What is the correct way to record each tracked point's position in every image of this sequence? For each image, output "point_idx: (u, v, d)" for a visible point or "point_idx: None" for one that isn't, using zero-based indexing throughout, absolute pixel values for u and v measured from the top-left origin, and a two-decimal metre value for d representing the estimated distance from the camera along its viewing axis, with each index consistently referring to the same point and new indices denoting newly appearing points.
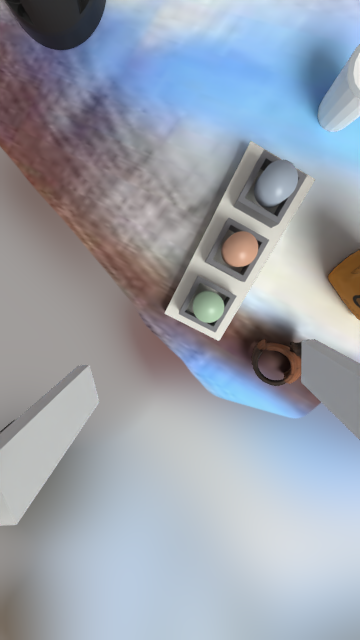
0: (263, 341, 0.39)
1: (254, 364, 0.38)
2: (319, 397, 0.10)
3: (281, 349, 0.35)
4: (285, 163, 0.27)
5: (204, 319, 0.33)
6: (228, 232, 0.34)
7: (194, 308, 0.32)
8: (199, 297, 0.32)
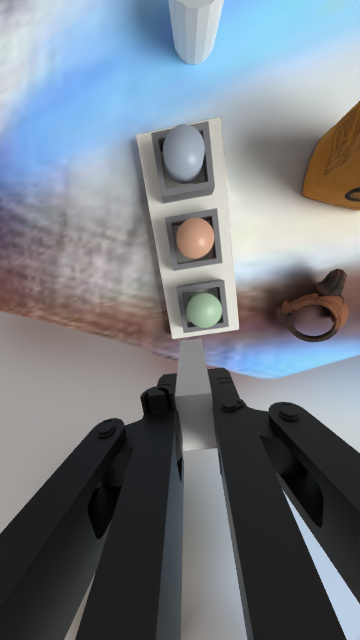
0: (285, 303, 0.34)
1: (292, 331, 0.33)
2: None
3: (308, 301, 0.30)
4: (177, 129, 0.23)
5: (208, 324, 0.29)
6: (176, 229, 0.31)
7: (192, 320, 0.29)
8: (189, 308, 0.29)
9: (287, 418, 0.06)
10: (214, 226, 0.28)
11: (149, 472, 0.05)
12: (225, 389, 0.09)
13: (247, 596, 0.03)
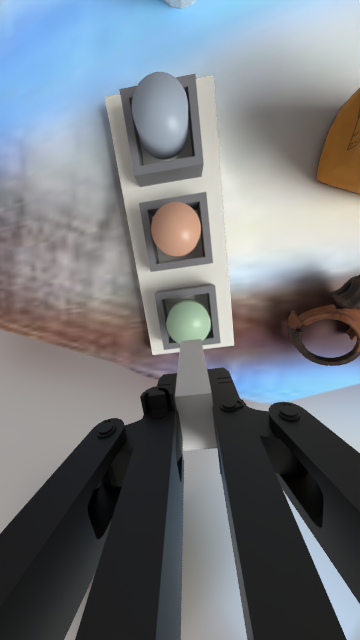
0: (293, 315, 0.28)
1: (301, 351, 0.27)
2: None
3: (324, 315, 0.24)
4: (151, 79, 0.17)
5: None
6: None
7: (172, 336, 0.23)
8: (169, 320, 0.22)
9: (287, 418, 0.06)
10: (202, 215, 0.22)
11: (149, 472, 0.05)
12: (225, 389, 0.09)
13: (247, 596, 0.03)
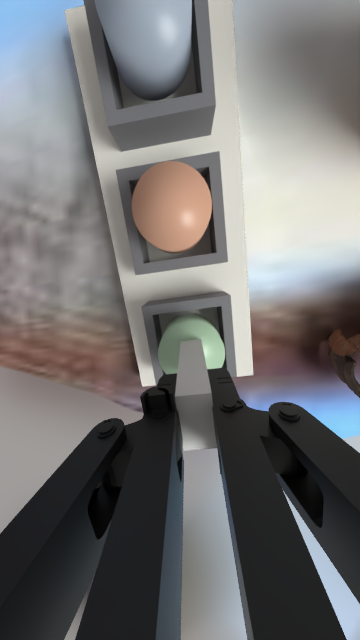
0: (339, 336, 0.20)
1: (353, 388, 0.19)
2: None
3: None
4: None
5: None
6: None
7: (167, 371, 0.15)
8: (162, 348, 0.15)
9: (287, 418, 0.06)
10: (213, 189, 0.14)
11: (149, 472, 0.05)
12: (225, 389, 0.09)
13: (247, 596, 0.03)
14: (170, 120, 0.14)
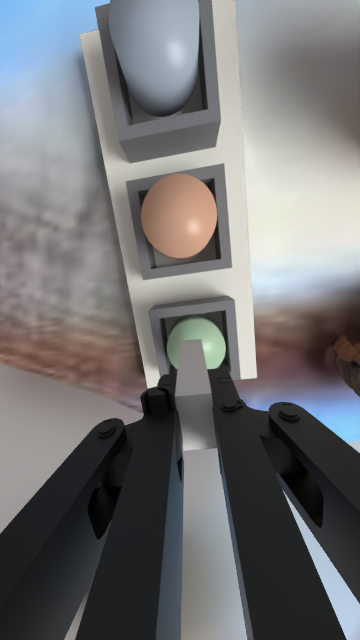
0: (344, 342, 0.20)
1: None
2: None
3: None
4: None
5: None
6: None
7: (175, 364, 0.17)
8: (170, 343, 0.17)
9: (287, 418, 0.06)
10: (218, 199, 0.15)
11: (149, 472, 0.05)
12: (225, 389, 0.09)
13: (247, 596, 0.03)
14: (177, 134, 0.15)
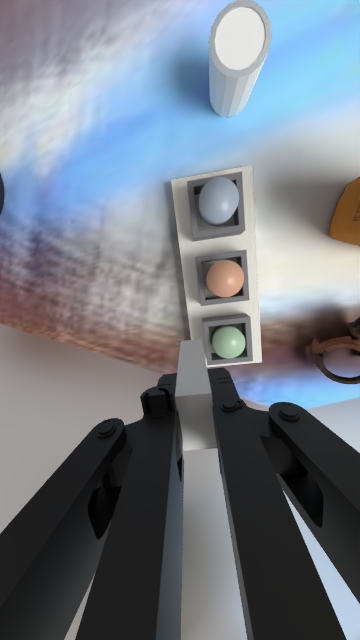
0: (316, 342, 0.34)
1: (323, 371, 0.33)
2: None
3: (342, 344, 0.30)
4: (214, 181, 0.25)
5: (232, 355, 0.31)
6: (204, 265, 0.32)
7: (217, 351, 0.31)
8: (215, 340, 0.31)
9: (287, 418, 0.06)
10: (243, 266, 0.29)
11: (149, 472, 0.05)
12: (225, 389, 0.09)
13: (247, 596, 0.03)
14: (222, 234, 0.29)
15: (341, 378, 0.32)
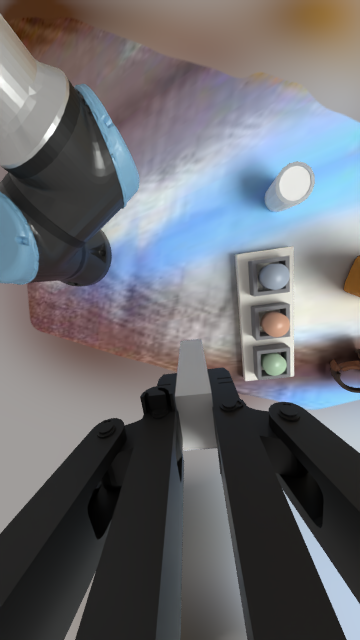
0: (334, 363, 0.49)
1: (340, 384, 0.48)
2: None
3: (354, 367, 0.45)
4: (274, 266, 0.38)
5: (277, 373, 0.46)
6: None
7: (266, 371, 0.46)
8: (265, 363, 0.45)
9: (287, 418, 0.06)
10: (287, 314, 0.43)
11: (149, 472, 0.05)
12: (225, 389, 0.09)
13: (247, 596, 0.03)
14: (273, 293, 0.43)
15: (352, 388, 0.47)
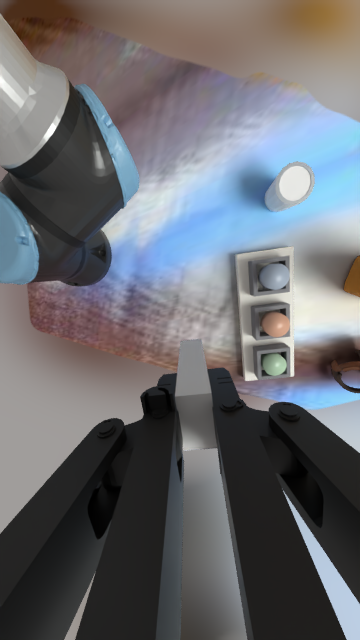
0: (335, 363, 0.49)
1: (341, 384, 0.48)
2: None
3: (355, 367, 0.45)
4: (274, 266, 0.38)
5: (277, 373, 0.46)
6: None
7: (266, 371, 0.46)
8: (265, 363, 0.45)
9: (287, 418, 0.06)
10: (287, 314, 0.43)
11: (149, 472, 0.05)
12: (225, 389, 0.09)
13: (247, 596, 0.03)
14: (273, 293, 0.43)
15: (353, 389, 0.47)
